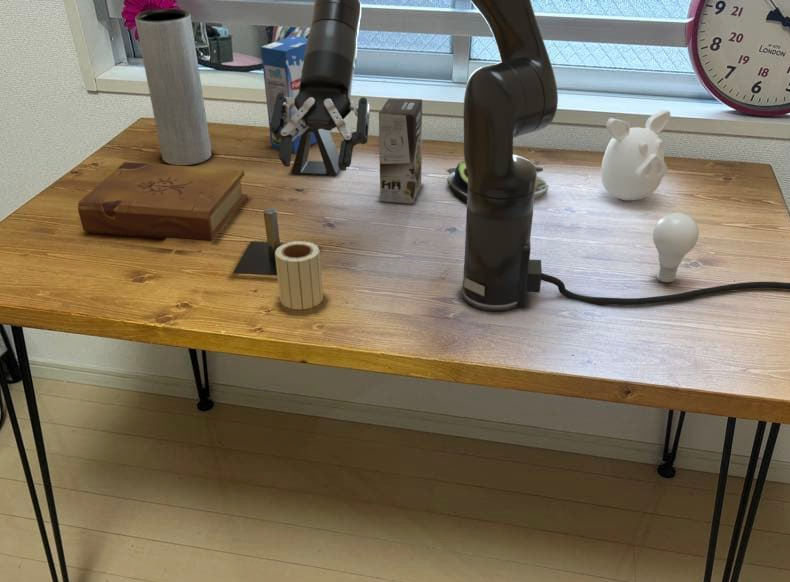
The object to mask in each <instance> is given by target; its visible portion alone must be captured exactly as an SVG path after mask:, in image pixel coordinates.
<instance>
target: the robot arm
mask: <svg viewBox="0 0 790 582" xmlns="http://www.w3.org/2000/svg"><path fill="white" fill-rule="evenodd" d="M469 1H470V3H472V4H473V6H474V7H475V8H476V9H477V11H478V12H479V13H480V15H481V16H482V17H483V18H484V20H485V22H486V23H487V25H488V27H489V29H490V31H491V34H492V36H493V38H494V41H495V45H496V47H497V48H496V49H497V51H498V54H499V58H500V62H497V63H493V64H492V63H491V64H488V65H484V66H481V67H479V68H477V69H476V70H474V71H473V72H472V73H471V75H470V76H469V78H468V80H467V83H466V86H465V90H464V96H463V159H464V161H465V165H466V169H467V173H468V193H467V203H466V213H465V214H466V215H465V216H466V217H465V238H464V239H465V240H464V256H463V257H464V259H463V260H464V261H463V279H462V289H461V296H462V298H463V300H464V301H465V302H466V303H467V304H469V305H470V306H472V307H474V308H477V309H480V310H484V311H492V312H500V311H501V312H503V311H508V310H513V309H514V308H515V309H516V308H524V307H525V306H526V300H527V299H526V298H527V297H526V296H527V293H538V294H540V293H541V285H542V282H546V283H549V284H551V285H555V286H556V287H557V289H558V292H559V293H560V295H562V296H563V297H565V298H567V299H570V300H574V301H578V302H583V303H588V304H593V305H614V306H615V305H617V306H640V305H652V304H661V303H669V302H676V301H683V300H687V299H691V298H697V297H701V296H708V295H714V294H719V293H720V294H721V293H725V292H730V291H732V292H733V291H738V290H750V289H751V290H752V289H776V290H790V282H783V281H747V282H737V283H730V284H723V285H718V286H712V287H705V288H698V289H694V290H690V291H684V292H679V293H674V294H673V293H672V294H666V295H657V296H647V297H629V298H627V297H626V298H625V297H607V296H606V297H604V296H603V297H602V296H601V297H600V296H599V297H598V296H585V295H581V294H576V293H574V292H572V291H570V290H568V289H566V285H565V283H564V281H562V280H560V278H557V277H555V276H553V275H550V274H545V273H543V272H542V271H543V270H542V259H533V258H532V259H530V258H531V245H532V244H531V236H532V225H533V218H534V217H533V216H534V206H535V199H536V198H535V187H536V179H537V178H538V173H537V171H536V167H537V166H535V164H534V163H533V162H532V161H530V160H529V159H527V158H525V157H522V156H520V155H516V154H514V138H517V137H520V136H524V135H528V134H531V133H535V132H539V131H541V130H544V129H545V128H547V127H549V125H550V124H552V122H553V121H554V118H555V117H556V114H557V109H558V106H559V105H558V103H559V94H558V84H557V81H556V77H555V72H554V67H553V66H552V62H551V59H550V57H549V53H548V50H547V47H546V44H545V41H544V39H543V36H542V33H541V29H540V26H539V23H538V21H537V18H536V15H535V11H534V8H533V4H532V0H469ZM313 3H314V4H313V11H312V16H311V18H312V19H311V25H310V29H309V34H308V37H307V38H308V39H307V44H306V50H305V56H304V63H303V69H302V75H301V81H300V90H299V93H298V95H297V96H296V98H292V97H285V96H284V94H283V93H279V94H277V97H276V101H275V106H274V110H273V114H272V119H271V123H270V128H269V131H270V130H271V131H272V133H273V134H274V136H275V137H276V138H278V139H279V138H280V139H281V141H280V147H279V149H278V159H279V160H280V162H281V163H282V165H283V166H284V167H285V168H287V167H288V168H289V167H290V166H291V162H292V157H293V156H292V155H293V152H292V150H293V143H292V142H293V141H294V140H295V139H296V137H297V136H298V135H299V134H303V133H304V132H305V131H306V130H307V129H308V128H309V127H310V128H311V129H313V130H317V129H324V130H329V132H331V131H332V130H333V129H335V128H336V129H337V131H338V133H339V134H340V136H341V138H342V139H343V140H341V142H340V148H339V153H338V154H339V160H338V167H339V171H341V172H345V171H347V168H350V166H351V165H352V158H353V152H354V147H355V146H356V145H359V144H361V145H365V144H367V143H368V140H369V129H370V126H369V125H370V118H371V117H370V116H371V106H370V104H369V102H368V99H367V98H366V97H360V98H359V99H358V100H351V94H352V88H353V81H354V74H355V69H356V66H357V54H358V36H359V31H360V23H361V22H360V21H361V17H362V3H361V1H360V0H314V1H313ZM293 107H296V108H297V110H298V111H297V112H296V113H295V114H294V115H293V116H292V117H291V119H290V122H289V123H288V124H287V125H286V126H285V127H284V125H285V121H286V116H287V113H290V111H291V109H292V108H293ZM351 111H353V113H354V115H355V117H356V119H357V120H356V131H353V132H351V131H350V129H349V127H348V126H347V124H346V123H345V121H344V119H346V118H347V116H348V115H349V114H350V113H351ZM302 119H303V121H302V122H301V120H302ZM300 122H301V123H300Z"/></svg>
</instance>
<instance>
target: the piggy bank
mask: <svg viewBox="0 0 790 582" xmlns="http://www.w3.org/2000/svg"><path fill="white" fill-rule="evenodd" d="M670 119H671V111H669V110H667V109H661V110H660V111H658V112H655V113H654V114H652V115H651V116H649V117H648V118H647V120H646V121H645V127H638V126H636V127H631V125H630V124H629V122H627V121H625V120H622V119H618V118H614V117H610V118H608V119H607V122H606V131H607V134H608V135H609V136H610V137H611V139H610V140H609V142H608V145H607V147H606V149H605V152H604V154H603V158H602V162H601V166H600V179H601V183H602V187H604V190H606V192H607V193H608V194H610V195H611V196H613V197H615V198H616V199H619V200H622V201H623V200H624V201H638V200H642V199H644V198H646V197H648V196H649V197H650V195H652V194H653V193H654V192H656V190H657V189H658V188H659V186H660V184H661V182H662V180H663V178H664V177H665V176H666V175H667V172H668V166H667V163H666V162H665V151H664V145H665V143H664V140H662V139H661V138H660V137H659V135H658V134H660V133H661V132H663V130H665V128H666V127H667V125H668V124H669V121H670Z"/></svg>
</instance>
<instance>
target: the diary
mask: <svg viewBox="0 0 790 582" xmlns="http://www.w3.org/2000/svg"><path fill="white" fill-rule="evenodd" d="M243 177H245V170H244V169H237V168H236V169H235V168H219V167H205V166H192V165H184V166H180V165H172V164H160V163H159V164H158V163H147V162H146V163H145V162H144V163H143V162H129V161H124V162H123V163H122V164H121V165H120V166H118V167H117V168H116V169H115V170H114V171H113V172H111V173H110V174H109V175H107V177H106V178H105V179H103V180H102V181H101V182H100V183H99V184H98V185H96V186H95V187H94V188H93V189H92V190H90V192H89V193H87V194H86V195H85V196H84V197H82V198H81V199H80V200H79V201H78V204H77V211H78V215H79V219H80V223H81V227H82V230H83V231H84V232H85V233H88V234H102V235H114V236H127V237H137V238H138V237H139V238H150V239H151V238H152V239H164V240H166V239H167V238H175V239H176V238H177V239H188V240H189V239H190V240H191V239H192V240H203V241H213V240H214V239H215V238H216V236H217V235H218V234H219V232H220V231H221V230H222V228H224V226H225V225H226V223H227V222H228V221H229V220H230V218H231V217H232V215H233V214H234V213H235V211H236V210H238V208H239V207H240V205H245V203H246V201H247V200H248V194H247V193H243V191H242V181H241V180H242V179H243Z"/></svg>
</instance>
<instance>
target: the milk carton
mask: <svg viewBox="0 0 790 582" xmlns="http://www.w3.org/2000/svg"><path fill="white" fill-rule="evenodd" d="M307 39H308V37H302V36H296V35H291V36H288V37H285V38H282V39H280V40H277V41H273V42H271V43H268V44H265V45H262V46H260V54H261V62H262V71H263V83H264V89H265V100H266V109H267V117H268V126H269V137H270V143H271V144H270V145H271V148H272V149H277V150H279V147H280V141H281V139H280V138H279V139H278V138H276V137H275V136H274V134H273V133H272V131H271V130H270V123H271V119H272V114H273V110H274V106H275V101H276V97H277V94H279V93H283V94H284V96H285V97H292V98H296V96H297V95H298V93H299V90H300V81H301V75H302V69H303V63H304V56H305V50H306V44H307ZM297 111H298V110H297V108H296V107H293V108H292V109H291V111H290V113H287V116H286V121H285V125H284V127H285V126H286V125H287V124H288V123H289V122H290V119H291V117H292V116H293V115H294V114H295V113H296V112H297ZM301 122H302V120H301ZM301 122H300V123H301ZM301 135H302V134H299V135H298V136H297V137H296V139H295V140H294V141H293V142H292V143H293V150H292V154H296V153H297V150H298V146H299V143H300V139H301ZM316 143H317V141H316V137H315V134H314V133H313V132H312V137H311V143H310V146H312V145H313V144H316Z"/></svg>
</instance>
